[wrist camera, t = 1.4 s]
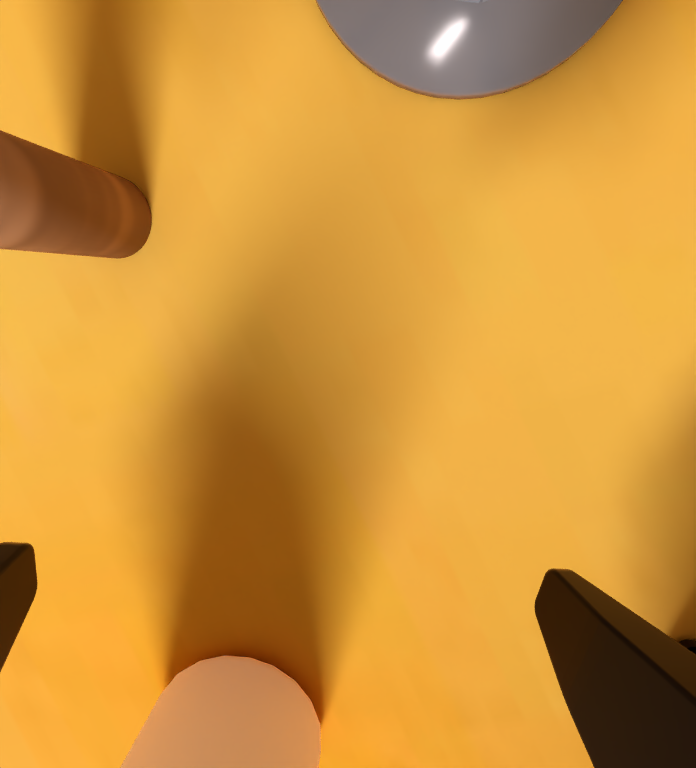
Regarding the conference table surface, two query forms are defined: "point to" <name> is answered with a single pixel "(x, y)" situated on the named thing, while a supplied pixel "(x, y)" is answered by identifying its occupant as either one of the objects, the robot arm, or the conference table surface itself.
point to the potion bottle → (229, 720)
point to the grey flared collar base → (464, 40)
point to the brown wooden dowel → (66, 205)
